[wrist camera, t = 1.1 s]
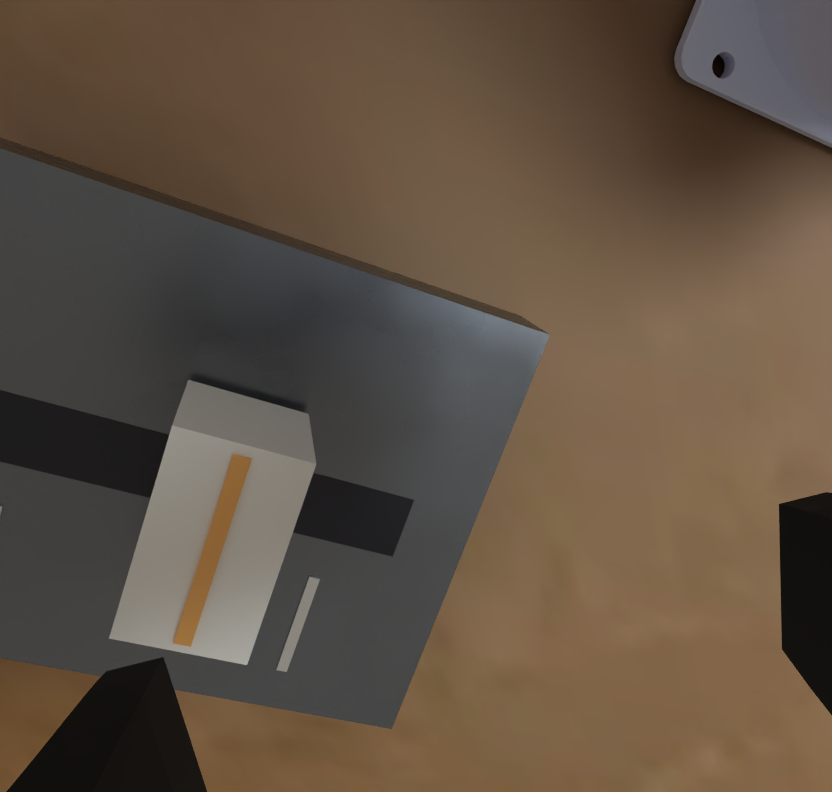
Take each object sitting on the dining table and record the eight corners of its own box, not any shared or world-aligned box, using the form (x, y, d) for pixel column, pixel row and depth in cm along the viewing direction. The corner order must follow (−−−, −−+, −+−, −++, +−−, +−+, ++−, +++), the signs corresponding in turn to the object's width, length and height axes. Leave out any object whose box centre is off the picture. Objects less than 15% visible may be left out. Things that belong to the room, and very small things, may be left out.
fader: (308, 413, 16) (316, 465, 13) (250, 586, 17) (246, 667, 14) (188, 379, 15) (171, 427, 12) (134, 561, 16) (108, 640, 13)
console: (520, 316, 18) (551, 335, 16) (380, 676, 20) (391, 730, 19) (-474, -24, 13) (-599, -54, 11) (-518, 497, 16) (-630, 546, 14)
